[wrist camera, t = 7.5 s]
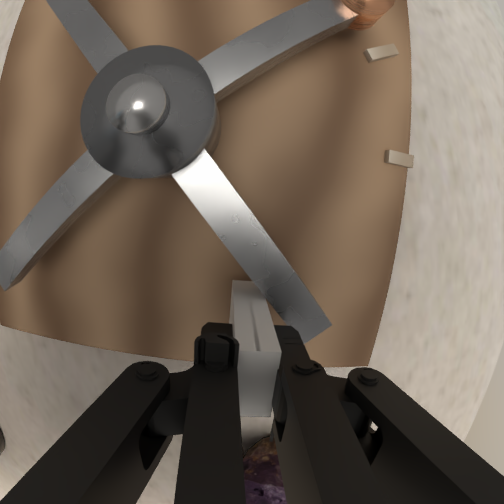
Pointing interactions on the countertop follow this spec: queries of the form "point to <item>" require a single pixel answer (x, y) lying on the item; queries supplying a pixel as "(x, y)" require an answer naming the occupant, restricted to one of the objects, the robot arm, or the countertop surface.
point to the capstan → (179, 138)
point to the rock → (263, 474)
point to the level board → (235, 169)
